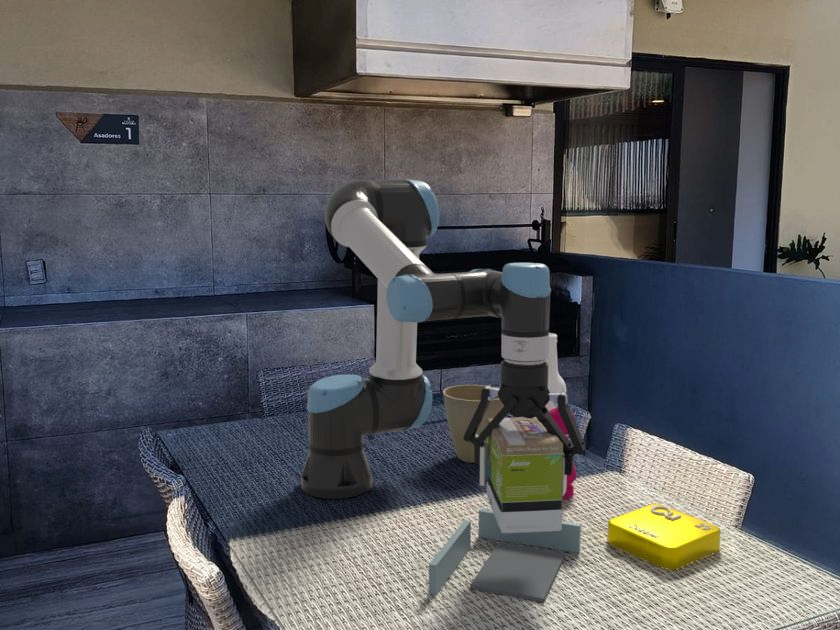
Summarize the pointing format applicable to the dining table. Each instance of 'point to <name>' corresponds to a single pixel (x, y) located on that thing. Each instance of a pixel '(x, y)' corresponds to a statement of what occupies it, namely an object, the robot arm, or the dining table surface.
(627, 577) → the dining table surface
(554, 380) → the alcohol
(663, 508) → the element tile
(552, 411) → the pepper mill
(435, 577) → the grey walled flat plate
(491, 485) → the tea box
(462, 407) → the plant pot
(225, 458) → the dining table surface
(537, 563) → the mat
